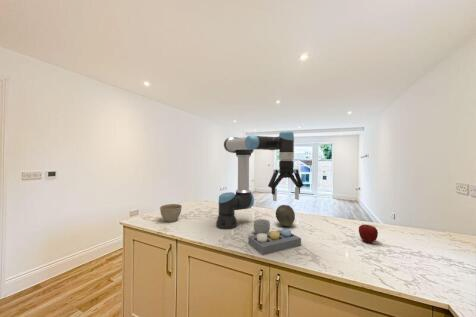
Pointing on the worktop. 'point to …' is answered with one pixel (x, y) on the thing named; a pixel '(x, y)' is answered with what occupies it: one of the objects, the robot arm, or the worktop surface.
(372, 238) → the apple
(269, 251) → the three ball holder
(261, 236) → the button ivory
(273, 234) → the button ochre
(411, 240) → the worktop surface
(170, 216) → the planter bowl
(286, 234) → the button blue
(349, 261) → the worktop surface
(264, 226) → the teacup
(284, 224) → the smooth brown stone
